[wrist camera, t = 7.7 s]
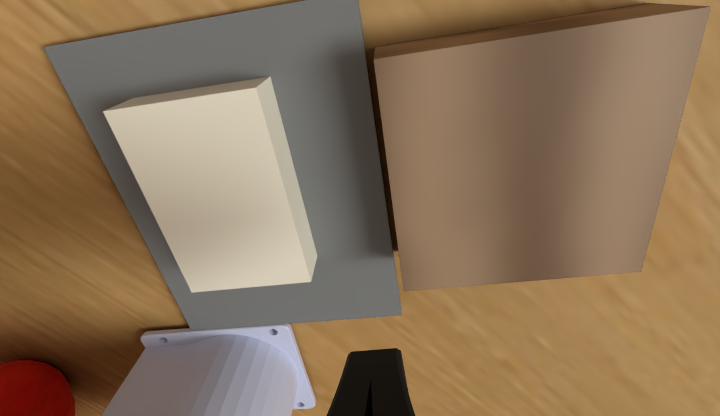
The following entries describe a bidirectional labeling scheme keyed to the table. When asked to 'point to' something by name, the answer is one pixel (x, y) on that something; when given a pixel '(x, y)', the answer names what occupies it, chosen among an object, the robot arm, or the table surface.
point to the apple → (34, 390)
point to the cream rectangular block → (220, 183)
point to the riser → (534, 143)
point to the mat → (304, 136)
